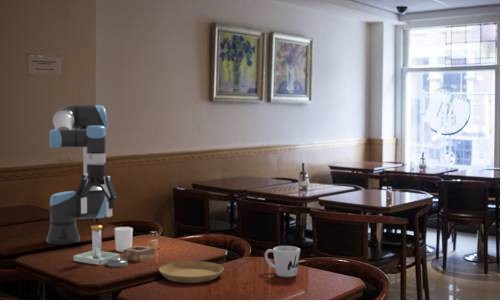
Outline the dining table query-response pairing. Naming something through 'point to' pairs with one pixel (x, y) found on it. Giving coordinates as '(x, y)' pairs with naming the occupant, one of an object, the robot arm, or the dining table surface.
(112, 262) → the pulley wheel
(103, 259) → the tray
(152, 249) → the socket block
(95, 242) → the glass jar
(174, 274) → the plant saucer
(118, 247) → the white cup
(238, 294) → the dining table surface
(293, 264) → the mug
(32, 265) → the dining table surface
